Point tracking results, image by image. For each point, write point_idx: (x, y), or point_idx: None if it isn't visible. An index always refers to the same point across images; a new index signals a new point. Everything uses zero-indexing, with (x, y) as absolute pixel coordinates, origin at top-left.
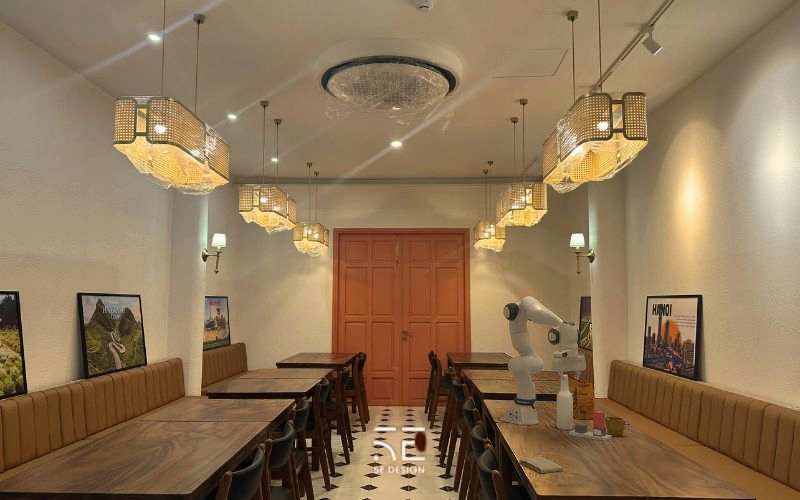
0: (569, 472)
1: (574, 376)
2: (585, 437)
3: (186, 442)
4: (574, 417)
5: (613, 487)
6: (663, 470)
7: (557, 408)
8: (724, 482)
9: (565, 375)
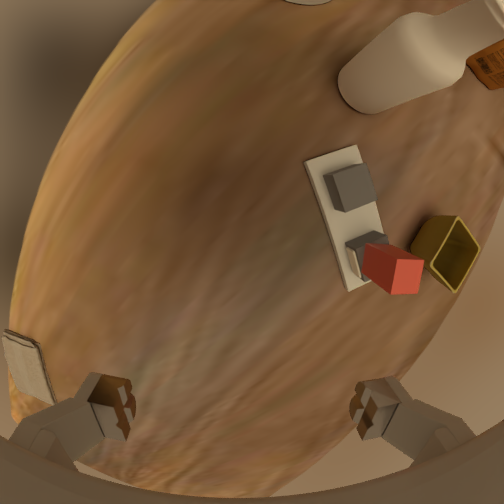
0: None
1: (371, 405)
2: (325, 222)
3: None
4: None
5: (98, 462)
6: (232, 467)
7: (368, 46)
8: None
9: None
